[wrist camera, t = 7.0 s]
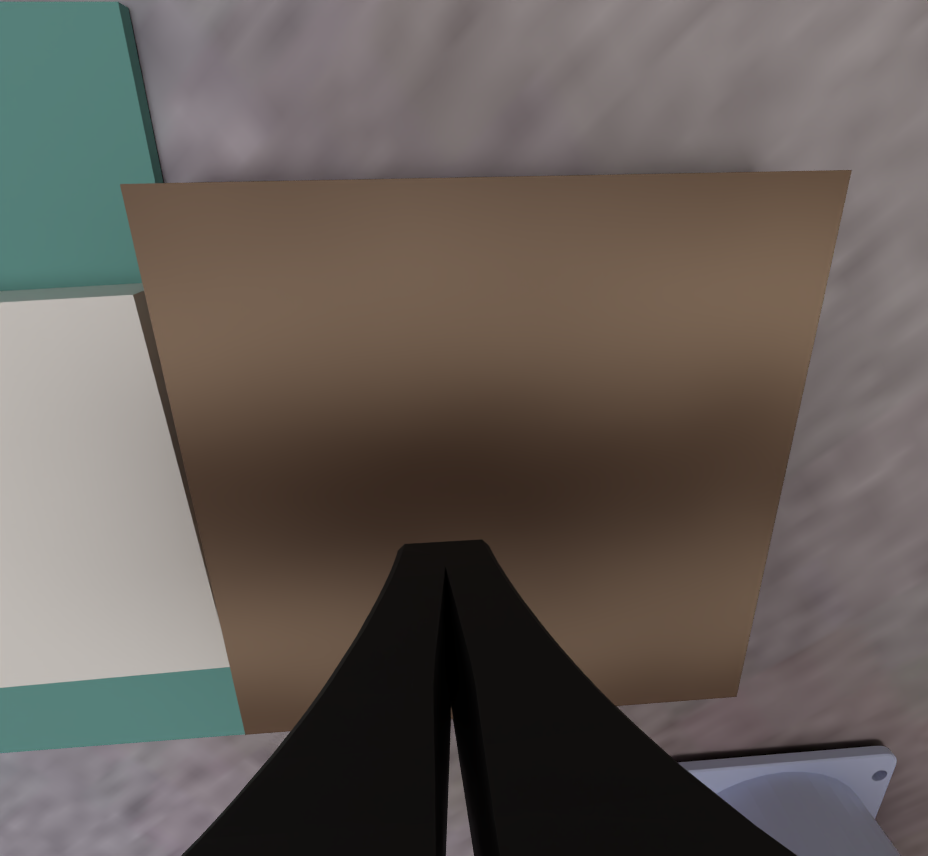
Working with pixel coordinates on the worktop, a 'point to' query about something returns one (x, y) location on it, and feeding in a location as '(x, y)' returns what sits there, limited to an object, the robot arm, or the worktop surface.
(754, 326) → the brown flat slab
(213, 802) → the worktop surface
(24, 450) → the cream tilted tile
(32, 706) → the mat
